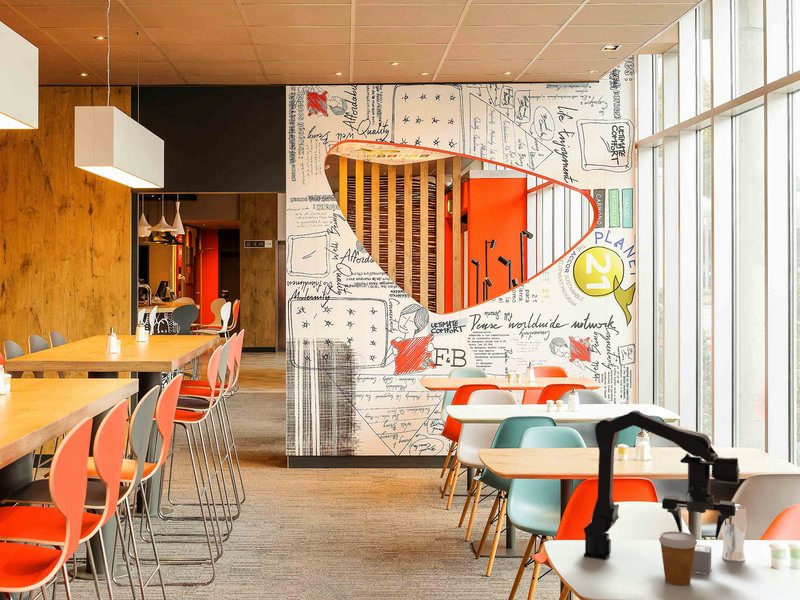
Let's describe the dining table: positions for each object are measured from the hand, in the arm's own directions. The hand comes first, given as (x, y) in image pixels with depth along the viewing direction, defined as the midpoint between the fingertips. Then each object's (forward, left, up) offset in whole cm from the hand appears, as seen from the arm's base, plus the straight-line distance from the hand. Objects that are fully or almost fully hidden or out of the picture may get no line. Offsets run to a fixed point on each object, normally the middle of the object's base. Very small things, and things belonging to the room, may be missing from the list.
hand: (698, 536), depth 227 cm
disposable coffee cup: (-4, -13, -9) cm, 16 cm away
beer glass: (+8, +15, -9) cm, 19 cm away
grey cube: (0, 0, -9) cm, 9 cm away
